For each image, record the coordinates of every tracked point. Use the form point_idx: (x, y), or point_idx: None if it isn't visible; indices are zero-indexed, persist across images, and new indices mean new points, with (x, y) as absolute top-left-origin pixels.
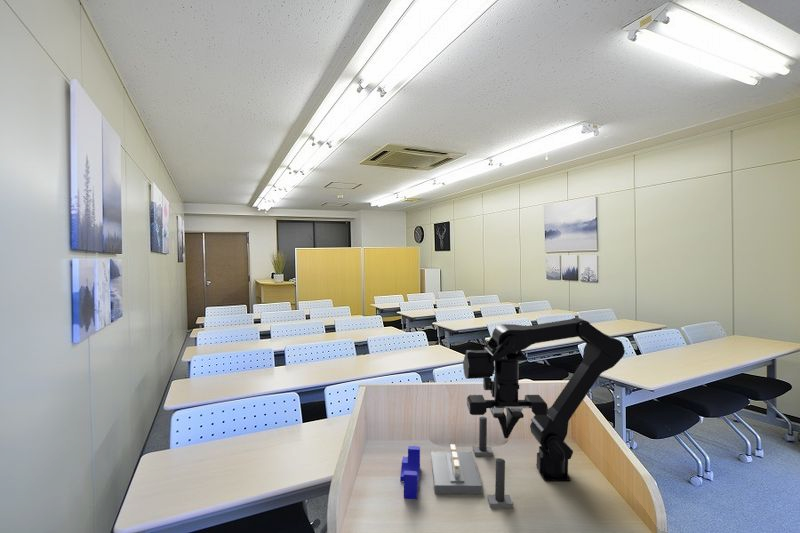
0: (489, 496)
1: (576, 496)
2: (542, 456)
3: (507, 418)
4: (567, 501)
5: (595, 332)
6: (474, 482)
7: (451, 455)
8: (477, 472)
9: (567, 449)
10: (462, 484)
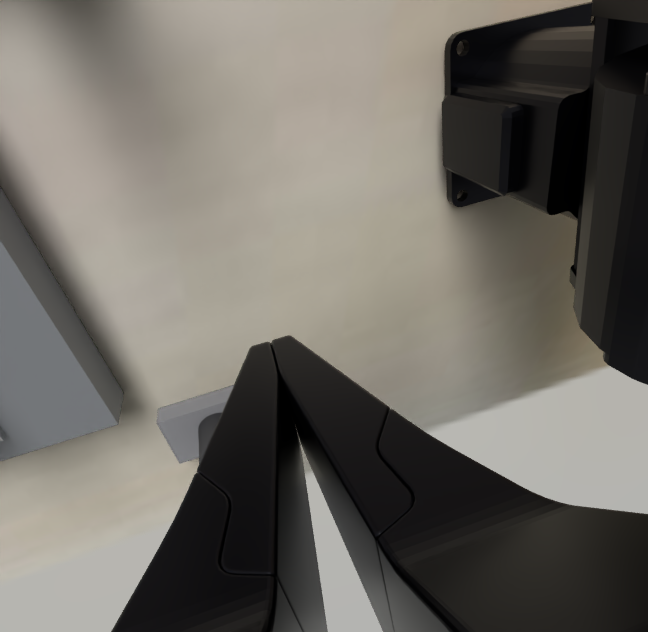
0: (169, 429)
1: (541, 272)
2: (524, 188)
3: (375, 572)
4: (493, 314)
5: None
6: (68, 416)
7: None
8: (54, 331)
9: None
10: (3, 452)
